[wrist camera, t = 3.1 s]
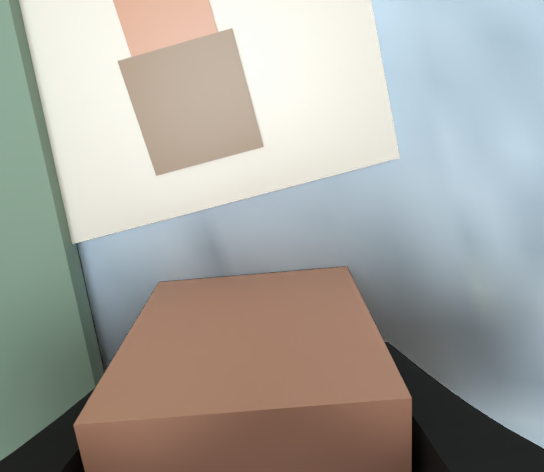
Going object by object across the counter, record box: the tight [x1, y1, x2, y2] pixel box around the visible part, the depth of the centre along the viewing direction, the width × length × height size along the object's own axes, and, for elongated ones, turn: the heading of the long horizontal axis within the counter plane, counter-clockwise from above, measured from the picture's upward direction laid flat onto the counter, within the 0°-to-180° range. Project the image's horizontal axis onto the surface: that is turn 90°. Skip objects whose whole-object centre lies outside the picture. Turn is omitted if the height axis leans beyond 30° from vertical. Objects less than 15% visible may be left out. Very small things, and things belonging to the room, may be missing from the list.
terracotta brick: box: [73, 266, 412, 472], centre depth 9 cm, size 4×4×5 cm
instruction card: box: [19, 0, 400, 244], centre depth 9 cm, size 6×8×1 cm
